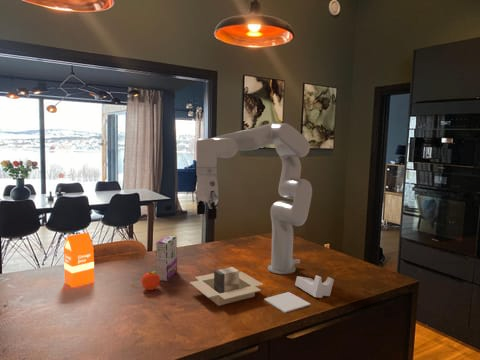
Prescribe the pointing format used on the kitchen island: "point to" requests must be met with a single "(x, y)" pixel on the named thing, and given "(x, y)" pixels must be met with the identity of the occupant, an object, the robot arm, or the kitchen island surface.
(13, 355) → the kitchen island surface
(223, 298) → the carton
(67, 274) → the orange juice
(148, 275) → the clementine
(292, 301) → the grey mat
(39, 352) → the kitchen island surface
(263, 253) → the kitchen island surface
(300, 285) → the bracket
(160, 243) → the candy bar box
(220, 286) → the birch box
